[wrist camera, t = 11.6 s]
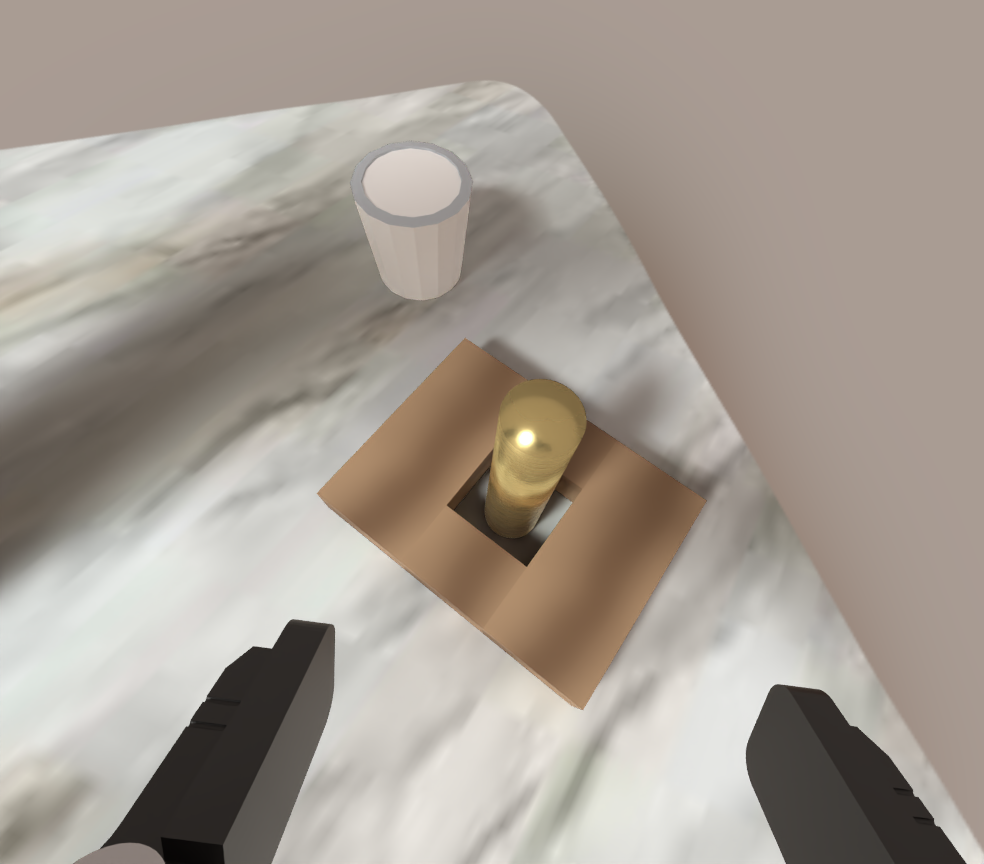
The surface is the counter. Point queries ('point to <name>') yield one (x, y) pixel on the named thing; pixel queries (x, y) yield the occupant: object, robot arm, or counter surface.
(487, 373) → the block
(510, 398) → the peg
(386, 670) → the counter surface
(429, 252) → the shot glass
